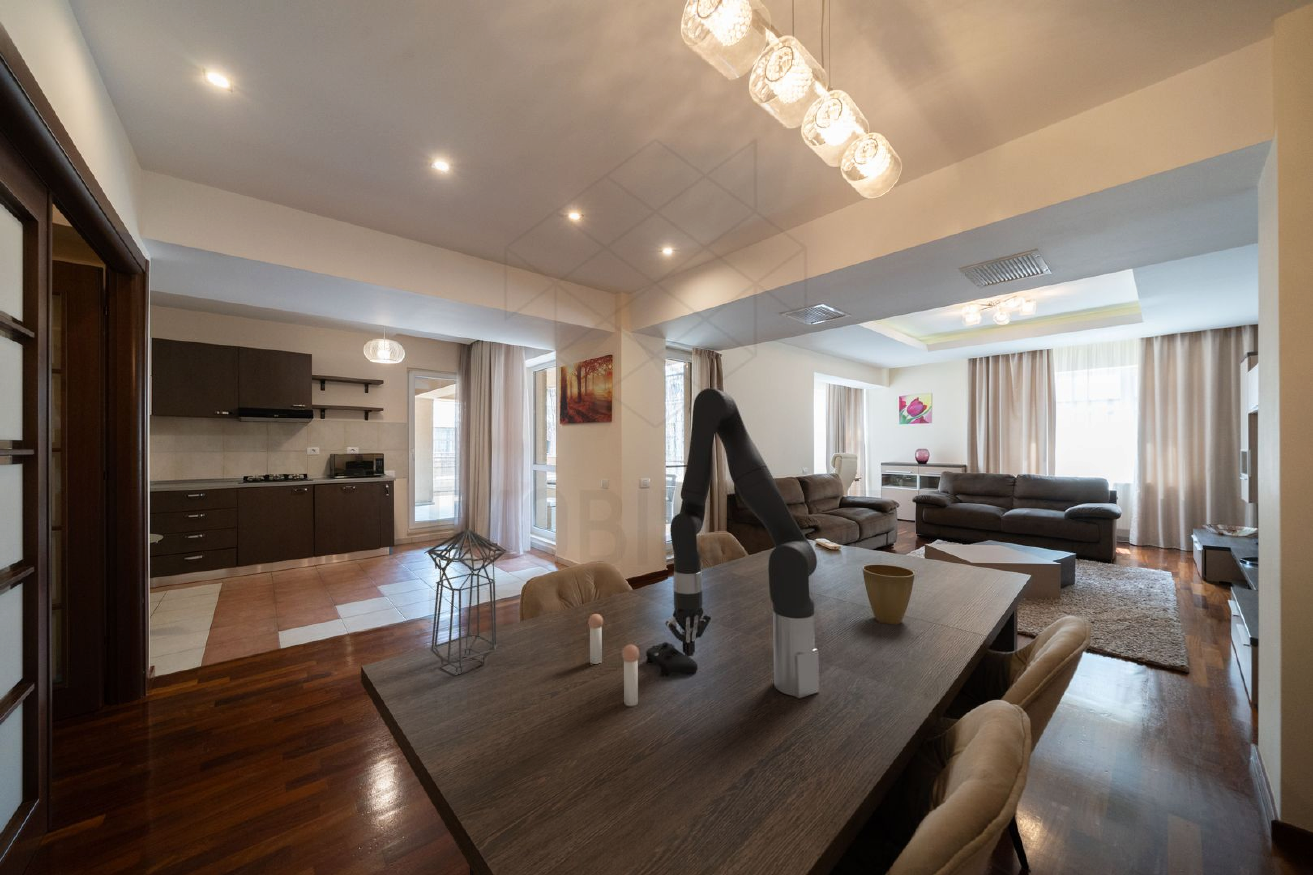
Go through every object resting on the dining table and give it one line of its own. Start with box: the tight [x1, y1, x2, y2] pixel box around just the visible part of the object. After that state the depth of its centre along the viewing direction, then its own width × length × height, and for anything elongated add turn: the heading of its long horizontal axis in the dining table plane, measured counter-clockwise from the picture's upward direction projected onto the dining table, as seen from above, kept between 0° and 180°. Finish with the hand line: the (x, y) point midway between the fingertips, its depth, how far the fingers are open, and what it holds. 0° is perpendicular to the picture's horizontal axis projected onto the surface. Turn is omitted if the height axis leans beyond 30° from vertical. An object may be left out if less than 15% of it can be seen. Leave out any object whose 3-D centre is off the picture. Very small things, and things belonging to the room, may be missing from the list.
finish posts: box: [588, 613, 640, 707], centre depth 114 cm, size 26×4×12 cm, turn 27°
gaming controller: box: [645, 641, 699, 677], centre depth 121 cm, size 14×6×10 cm
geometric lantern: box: [424, 529, 508, 673], centre depth 122 cm, size 16×16×35 cm
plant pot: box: [862, 563, 916, 625], centre depth 151 cm, size 15×15×16 cm
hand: (688, 654), depth 124 cm, fingers closed
